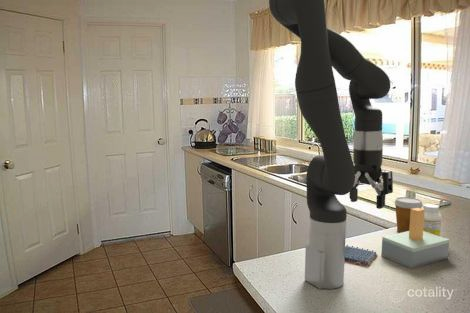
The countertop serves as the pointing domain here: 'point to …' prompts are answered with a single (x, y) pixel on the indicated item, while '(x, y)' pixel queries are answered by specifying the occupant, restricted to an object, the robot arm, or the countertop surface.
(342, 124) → the robot arm
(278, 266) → the countertop surface
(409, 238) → the lid
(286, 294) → the countertop surface
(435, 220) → the supplement bottle
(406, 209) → the disposable coffee cup
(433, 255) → the parts tub
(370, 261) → the woven mat
